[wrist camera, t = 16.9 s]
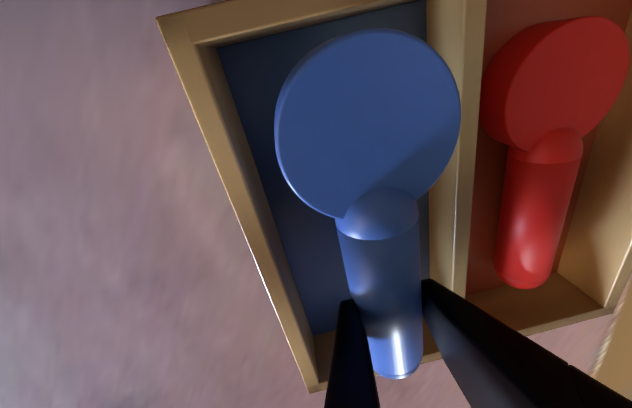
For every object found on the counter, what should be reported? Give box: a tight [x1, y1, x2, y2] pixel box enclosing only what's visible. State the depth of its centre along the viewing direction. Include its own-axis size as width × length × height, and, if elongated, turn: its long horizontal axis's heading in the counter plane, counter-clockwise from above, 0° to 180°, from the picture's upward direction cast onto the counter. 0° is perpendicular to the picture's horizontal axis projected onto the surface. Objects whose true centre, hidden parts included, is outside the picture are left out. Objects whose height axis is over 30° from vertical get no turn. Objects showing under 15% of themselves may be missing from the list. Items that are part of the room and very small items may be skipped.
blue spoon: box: [274, 28, 461, 379], centre depth 7 cm, size 10×4×2 cm, turn 12°
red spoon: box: [478, 16, 630, 289], centre depth 10 cm, size 10×4×2 cm, turn 12°
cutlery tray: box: [156, 0, 632, 394], centre depth 10 cm, size 14×14×3 cm
